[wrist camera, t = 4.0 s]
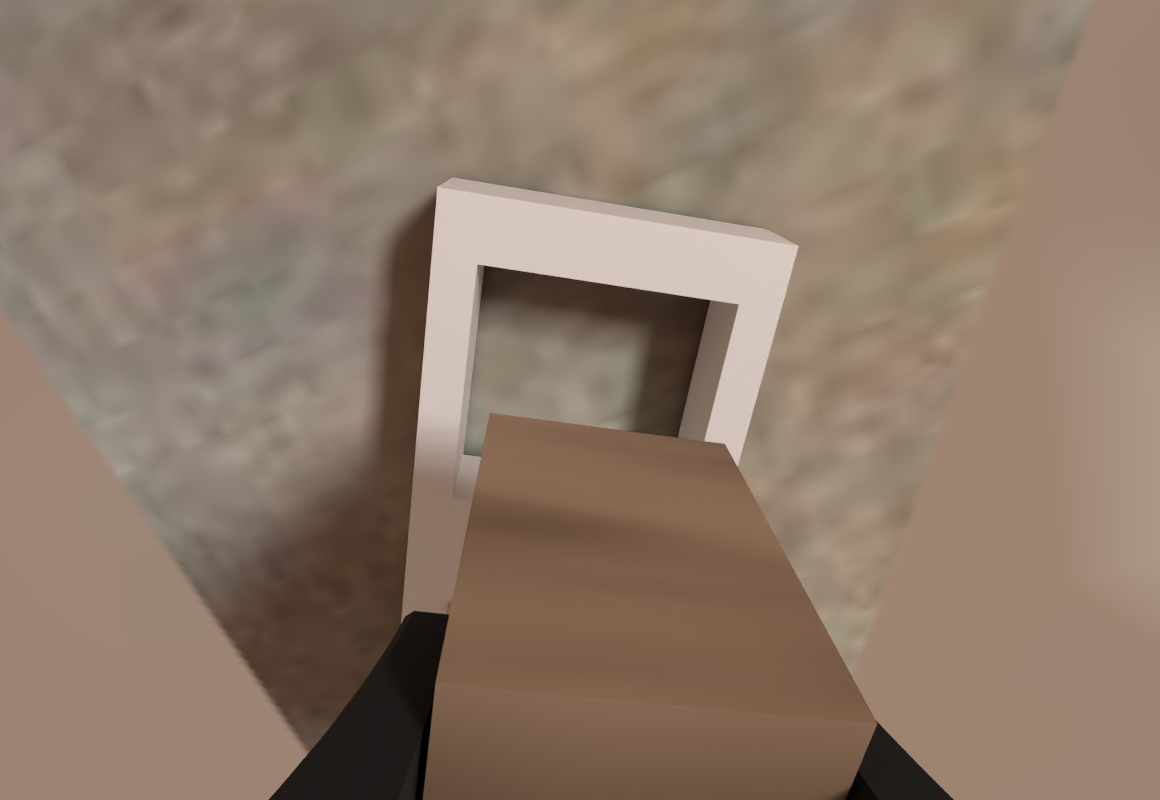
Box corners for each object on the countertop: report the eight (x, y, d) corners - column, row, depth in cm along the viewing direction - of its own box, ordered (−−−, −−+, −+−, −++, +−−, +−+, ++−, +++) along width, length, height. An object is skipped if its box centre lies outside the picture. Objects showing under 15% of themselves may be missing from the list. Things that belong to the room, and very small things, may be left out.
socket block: (633, 745, 24) (642, 816, 22) (402, 724, 24) (385, 797, 21) (766, 229, 18) (801, 247, 15) (452, 177, 17) (435, 187, 14)
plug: (675, 632, 15) (764, 991, 9) (465, 609, 14) (403, 972, 8) (724, 443, 13) (877, 724, 7) (489, 413, 13) (435, 682, 7)
